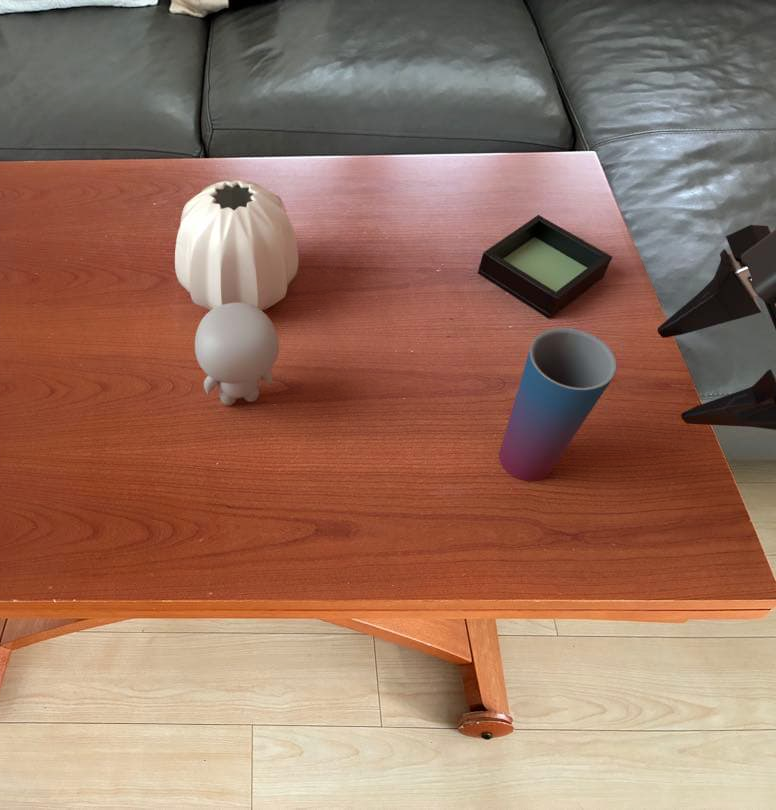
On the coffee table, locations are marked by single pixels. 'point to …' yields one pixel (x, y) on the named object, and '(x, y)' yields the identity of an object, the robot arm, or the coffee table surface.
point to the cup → (554, 399)
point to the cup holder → (544, 265)
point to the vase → (235, 246)
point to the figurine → (236, 350)
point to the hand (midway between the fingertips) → (670, 374)
